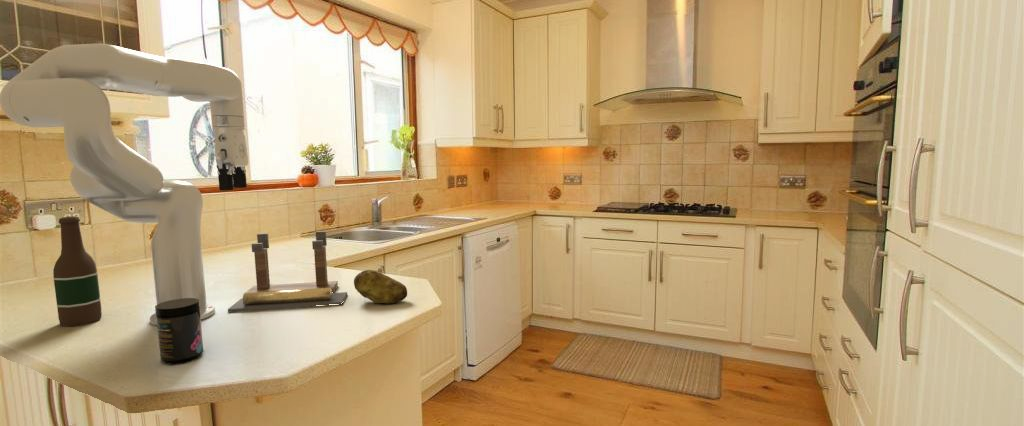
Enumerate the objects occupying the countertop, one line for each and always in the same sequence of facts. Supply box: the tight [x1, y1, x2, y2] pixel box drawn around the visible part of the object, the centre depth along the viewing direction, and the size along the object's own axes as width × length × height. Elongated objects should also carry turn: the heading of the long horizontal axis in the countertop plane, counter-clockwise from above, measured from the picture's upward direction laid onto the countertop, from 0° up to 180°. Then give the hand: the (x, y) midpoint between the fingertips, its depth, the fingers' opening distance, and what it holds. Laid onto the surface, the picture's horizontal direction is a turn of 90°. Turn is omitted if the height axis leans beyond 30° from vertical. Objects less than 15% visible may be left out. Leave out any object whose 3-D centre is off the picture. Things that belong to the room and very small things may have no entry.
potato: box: [353, 269, 408, 304], centre depth 124 cm, size 8×13×8 cm, turn 64°
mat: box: [227, 291, 348, 313], centre depth 125 cm, size 9×26×1 cm, turn 100°
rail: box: [242, 288, 332, 305], centre depth 123 cm, size 3×20×3 cm
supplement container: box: [154, 298, 204, 365], centre depth 91 cm, size 7×7×10 cm
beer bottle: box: [52, 216, 103, 327], centre depth 112 cm, size 8×8×24 cm
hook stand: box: [244, 230, 339, 293], centre depth 134 cm, size 7×22×16 cm, turn 100°
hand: (233, 188), depth 132 cm, fingers open, 9 cm apart
